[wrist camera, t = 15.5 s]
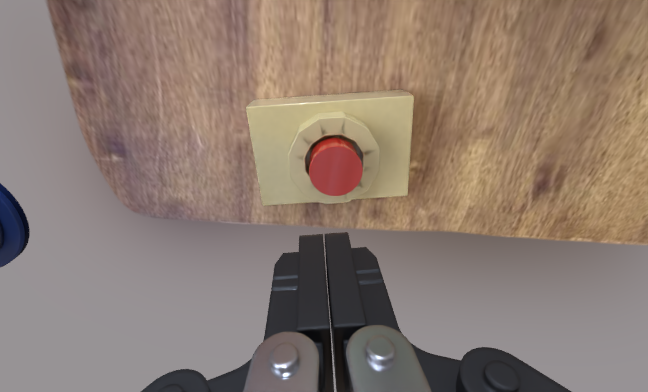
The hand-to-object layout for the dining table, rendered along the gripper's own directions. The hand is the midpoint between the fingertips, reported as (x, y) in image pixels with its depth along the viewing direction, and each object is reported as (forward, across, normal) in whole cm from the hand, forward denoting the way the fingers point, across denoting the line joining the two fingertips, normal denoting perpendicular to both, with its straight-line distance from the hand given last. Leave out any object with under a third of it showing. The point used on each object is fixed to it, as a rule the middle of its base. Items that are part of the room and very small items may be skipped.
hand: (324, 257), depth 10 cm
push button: (+13, -1, +2) cm, 13 cm away
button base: (+18, -1, +2) cm, 18 cm away
